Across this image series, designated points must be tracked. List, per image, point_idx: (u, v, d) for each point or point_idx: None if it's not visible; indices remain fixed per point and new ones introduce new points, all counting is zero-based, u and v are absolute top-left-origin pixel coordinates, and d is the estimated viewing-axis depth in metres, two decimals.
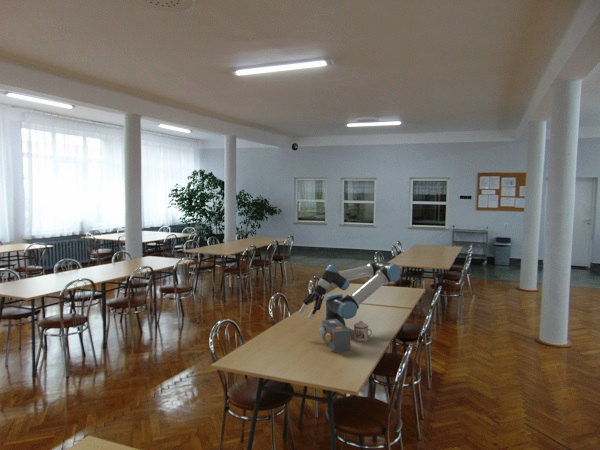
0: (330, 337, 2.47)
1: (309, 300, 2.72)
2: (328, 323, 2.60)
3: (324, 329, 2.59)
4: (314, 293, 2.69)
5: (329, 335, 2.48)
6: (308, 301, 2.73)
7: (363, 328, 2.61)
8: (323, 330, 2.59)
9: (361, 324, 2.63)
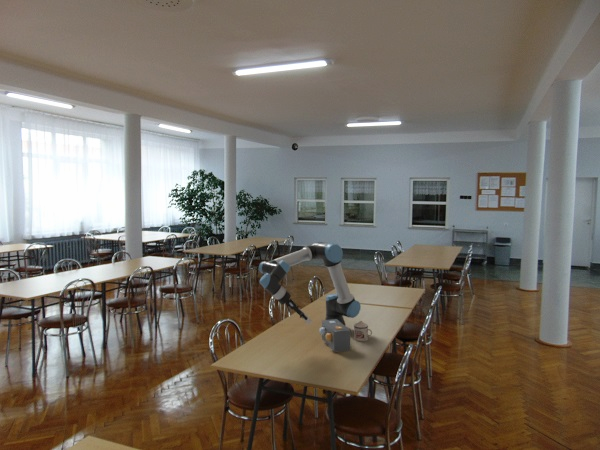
0: (330, 337, 2.47)
1: None
2: (328, 323, 2.60)
3: (324, 329, 2.59)
4: None
5: (329, 335, 2.48)
6: None
7: (363, 328, 2.61)
8: (323, 330, 2.59)
9: (361, 324, 2.63)
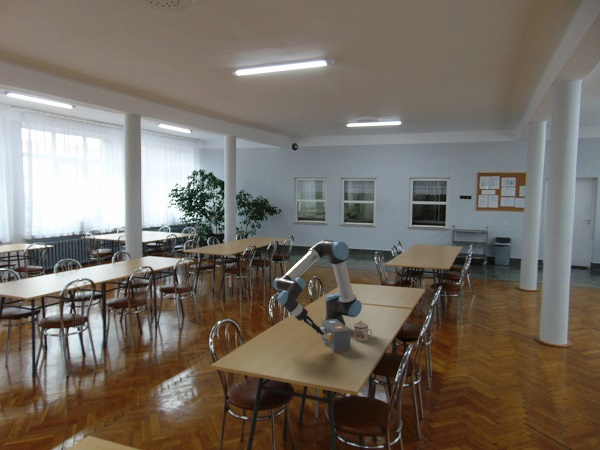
0: None
1: None
2: (328, 323, 2.60)
3: (324, 329, 2.59)
4: (303, 320, 2.46)
5: (331, 335, 2.48)
6: None
7: (363, 328, 2.61)
8: (323, 330, 2.59)
9: (361, 324, 2.63)
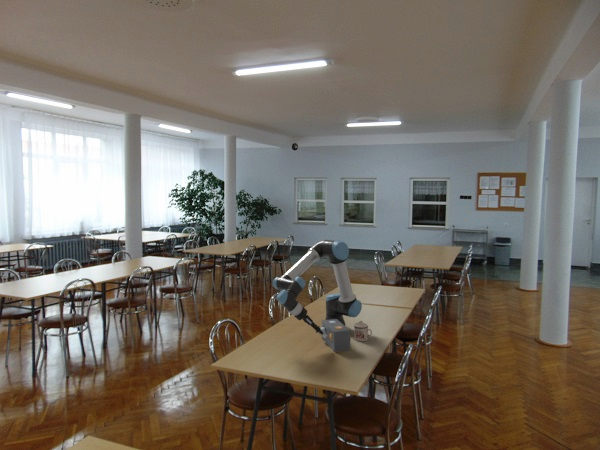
0: None
1: None
2: (328, 323, 2.60)
3: (324, 329, 2.59)
4: (302, 319, 2.46)
5: None
6: None
7: (363, 328, 2.61)
8: (323, 330, 2.59)
9: (361, 324, 2.63)
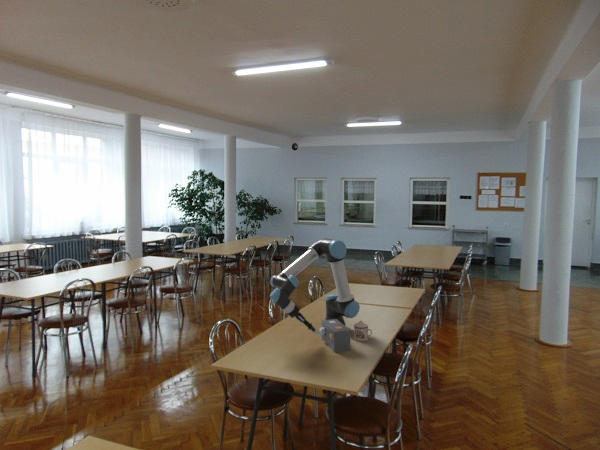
0: None
1: None
2: (328, 323, 2.60)
3: (324, 329, 2.59)
4: None
5: None
6: None
7: (363, 328, 2.61)
8: (323, 330, 2.59)
9: (361, 324, 2.63)
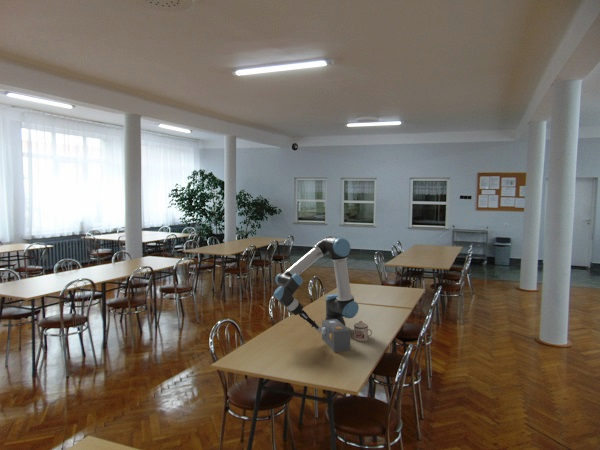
0: None
1: None
2: (328, 323, 2.60)
3: None
4: None
5: None
6: None
7: (363, 328, 2.61)
8: (325, 330, 2.59)
9: (361, 324, 2.63)
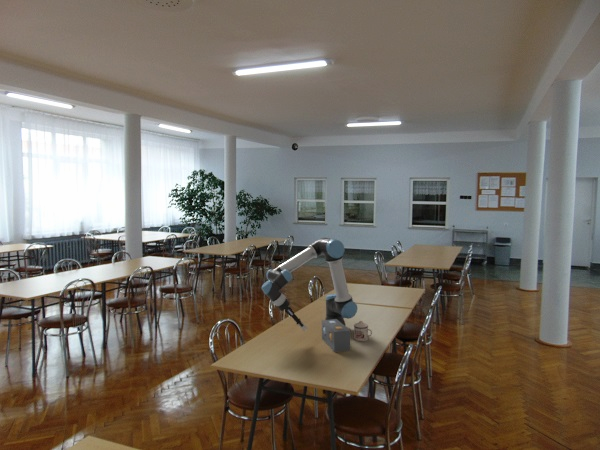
0: None
1: None
2: (328, 323, 2.60)
3: None
4: None
5: None
6: None
7: (363, 328, 2.61)
8: None
9: (361, 324, 2.63)
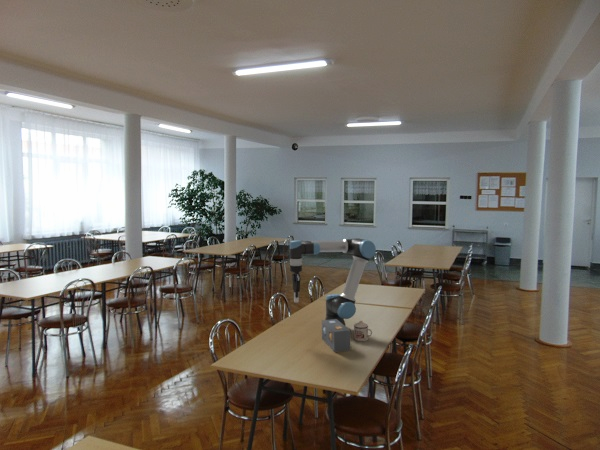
0: None
1: None
2: (328, 323, 2.60)
3: None
4: (292, 274, 2.64)
5: None
6: None
7: (363, 328, 2.61)
8: None
9: (361, 324, 2.63)
